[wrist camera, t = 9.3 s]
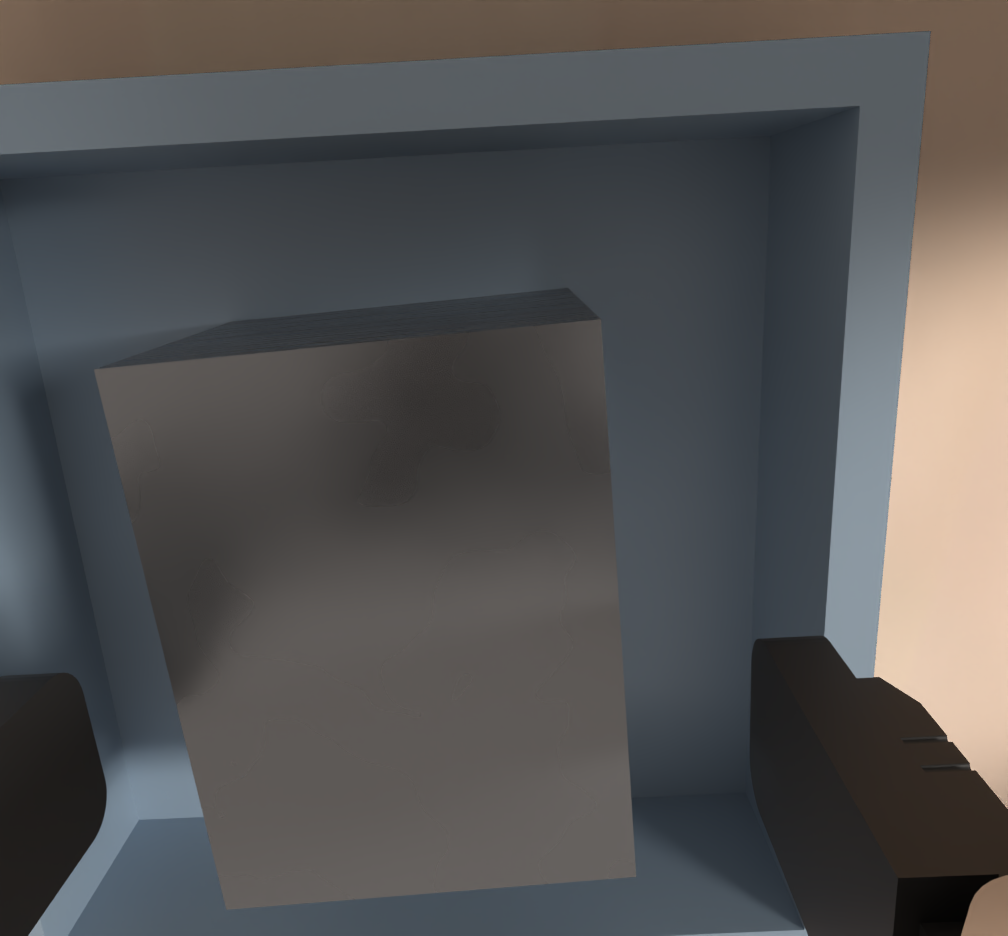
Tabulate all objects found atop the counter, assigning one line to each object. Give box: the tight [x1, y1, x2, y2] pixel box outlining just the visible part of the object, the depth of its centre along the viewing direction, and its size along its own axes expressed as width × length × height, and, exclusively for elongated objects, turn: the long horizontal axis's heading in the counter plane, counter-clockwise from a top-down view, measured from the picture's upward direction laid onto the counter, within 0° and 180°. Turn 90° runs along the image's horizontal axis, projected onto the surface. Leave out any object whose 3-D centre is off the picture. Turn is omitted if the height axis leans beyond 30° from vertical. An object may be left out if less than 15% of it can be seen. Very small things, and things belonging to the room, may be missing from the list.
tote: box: [0, 31, 931, 936], centre depth 14 cm, size 15×15×4 cm
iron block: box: [94, 288, 636, 910], centre depth 13 cm, size 6×8×5 cm
